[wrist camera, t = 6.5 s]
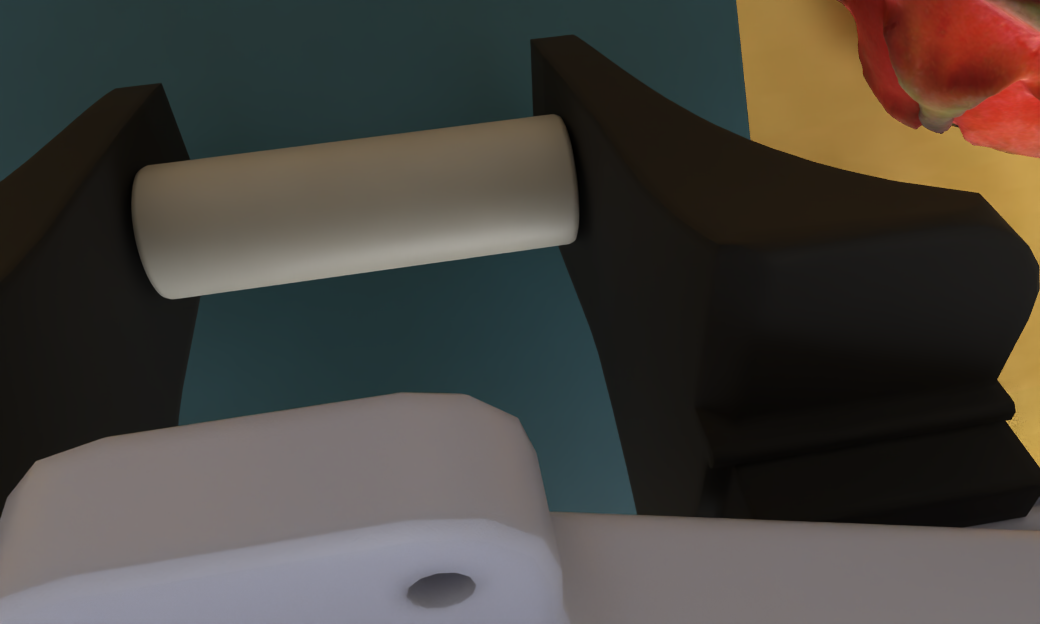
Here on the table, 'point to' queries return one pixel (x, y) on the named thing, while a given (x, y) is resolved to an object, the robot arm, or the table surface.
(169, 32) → the cool box lid
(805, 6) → the table surface
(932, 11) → the dragon fruit
